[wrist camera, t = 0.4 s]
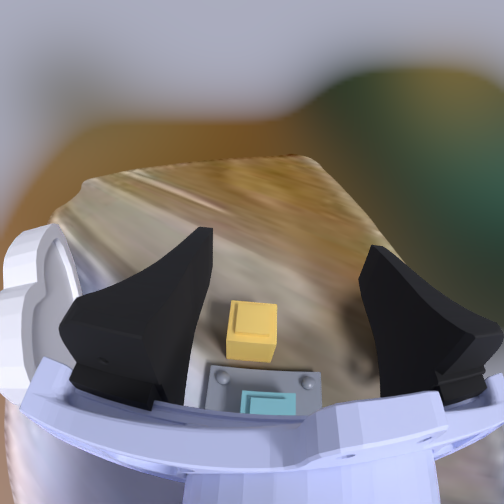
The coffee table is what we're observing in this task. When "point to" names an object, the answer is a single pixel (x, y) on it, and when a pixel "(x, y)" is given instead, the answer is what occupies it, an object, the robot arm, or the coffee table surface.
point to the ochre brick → (251, 331)
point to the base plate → (263, 391)
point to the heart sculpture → (34, 306)
